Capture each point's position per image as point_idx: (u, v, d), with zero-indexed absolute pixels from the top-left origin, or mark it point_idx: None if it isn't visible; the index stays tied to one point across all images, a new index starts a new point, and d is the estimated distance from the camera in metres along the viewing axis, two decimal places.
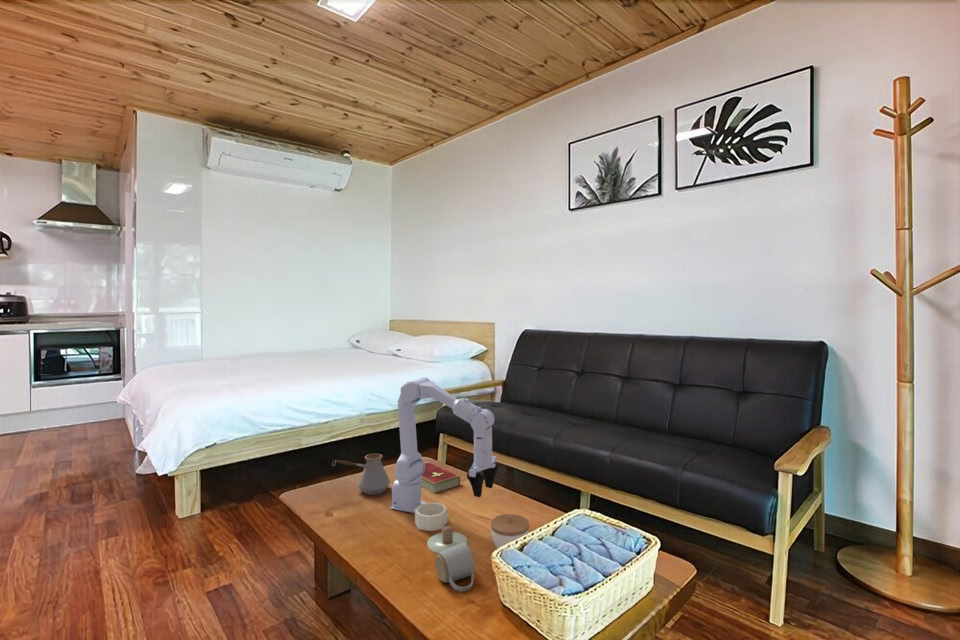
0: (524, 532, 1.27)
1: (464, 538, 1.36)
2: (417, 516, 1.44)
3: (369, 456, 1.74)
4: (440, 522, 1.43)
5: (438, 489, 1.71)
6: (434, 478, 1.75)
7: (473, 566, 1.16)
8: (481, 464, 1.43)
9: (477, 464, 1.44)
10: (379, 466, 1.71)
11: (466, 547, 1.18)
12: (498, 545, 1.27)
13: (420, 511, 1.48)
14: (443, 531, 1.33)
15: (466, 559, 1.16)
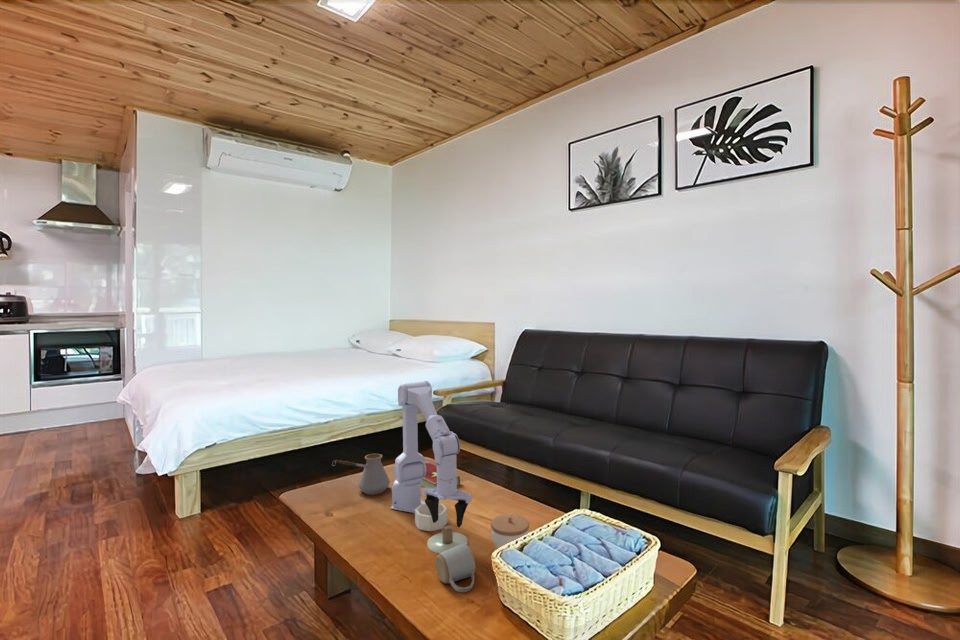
0: (524, 532, 1.27)
1: (464, 538, 1.36)
2: (417, 516, 1.44)
3: (369, 456, 1.74)
4: (440, 522, 1.43)
5: None
6: (434, 478, 1.75)
7: (474, 567, 1.16)
8: (437, 490, 1.34)
9: None
10: (379, 466, 1.71)
11: (467, 548, 1.18)
12: (498, 545, 1.27)
13: (420, 511, 1.48)
14: (443, 531, 1.33)
15: (467, 560, 1.16)
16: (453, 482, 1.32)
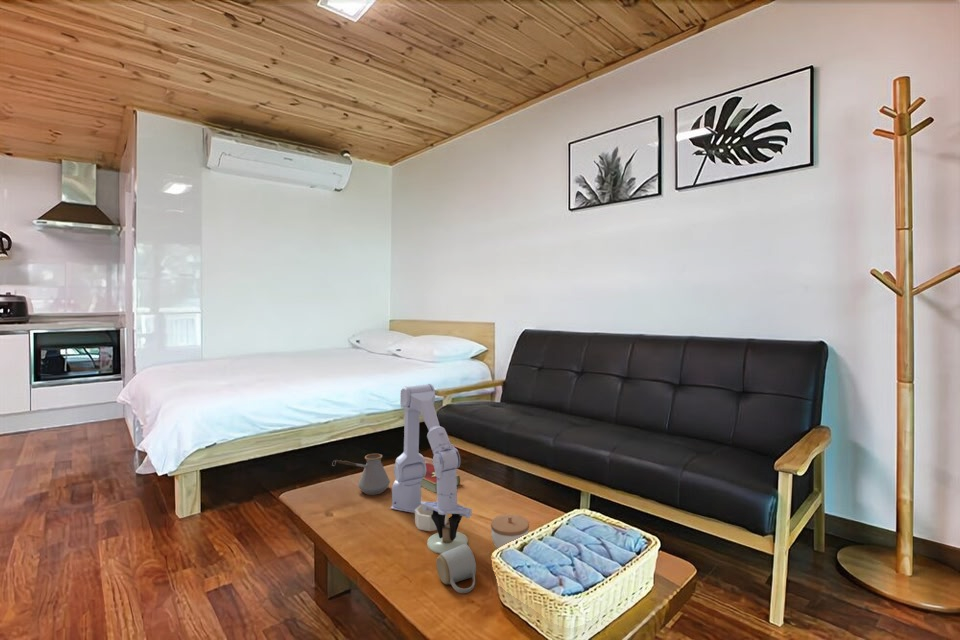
0: (524, 532, 1.27)
1: (464, 537, 1.36)
2: (417, 516, 1.44)
3: (369, 456, 1.74)
4: None
5: None
6: (435, 478, 1.75)
7: (474, 567, 1.16)
8: (437, 504, 1.34)
9: None
10: (379, 466, 1.71)
11: (467, 548, 1.18)
12: (498, 545, 1.27)
13: (420, 511, 1.48)
14: (443, 530, 1.33)
15: (468, 560, 1.15)
16: (453, 497, 1.32)
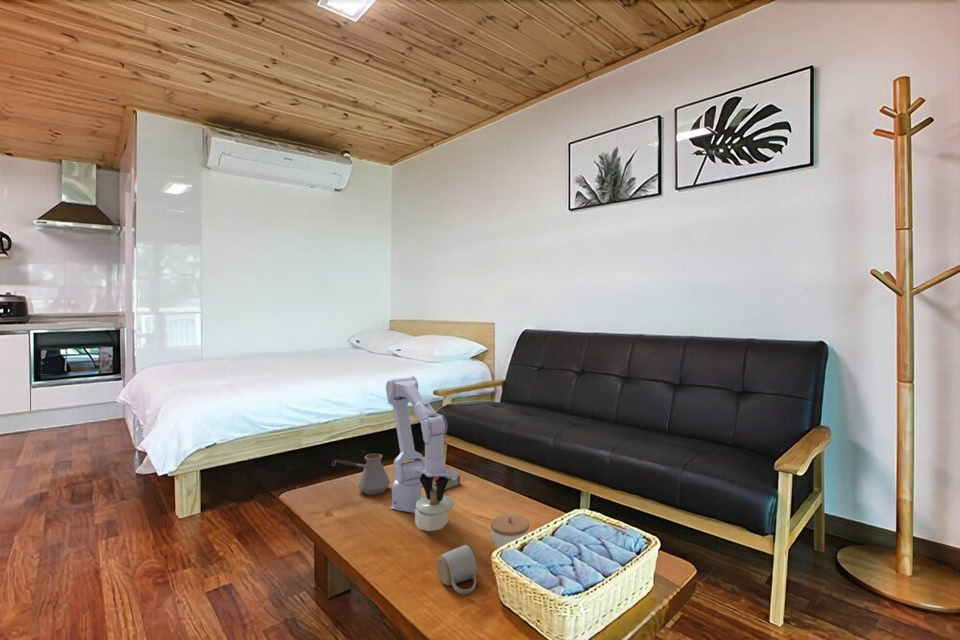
0: (524, 532, 1.27)
1: (450, 500, 1.45)
2: (417, 516, 1.44)
3: (369, 456, 1.74)
4: (440, 522, 1.43)
5: None
6: (435, 478, 1.75)
7: (475, 568, 1.15)
8: (425, 468, 1.43)
9: None
10: (379, 466, 1.71)
11: (468, 549, 1.17)
12: (498, 545, 1.27)
13: None
14: (431, 493, 1.42)
15: (469, 561, 1.15)
16: (440, 461, 1.41)
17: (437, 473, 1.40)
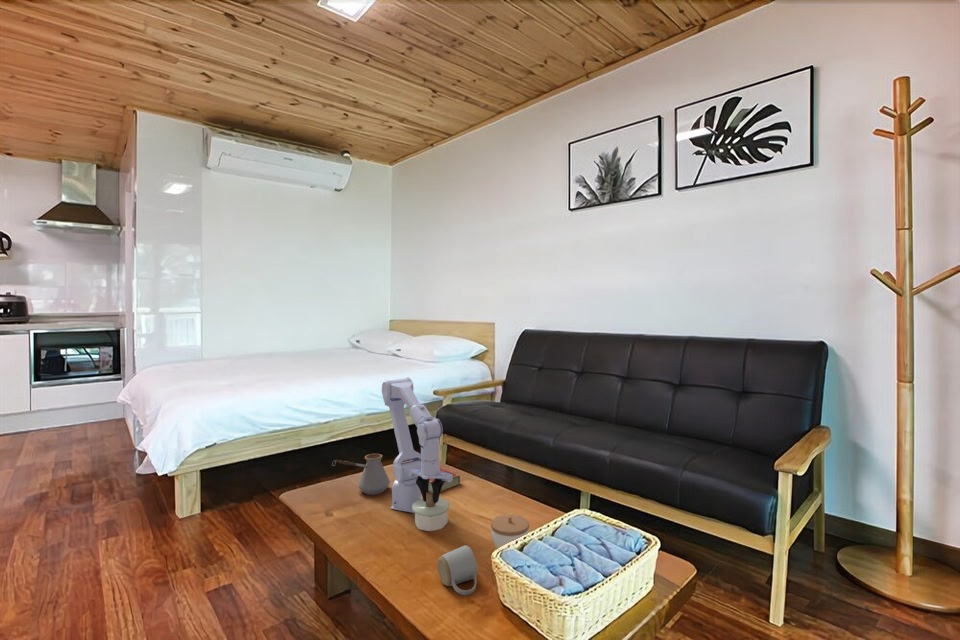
0: (524, 532, 1.27)
1: (446, 501, 1.48)
2: (417, 516, 1.44)
3: (369, 456, 1.74)
4: (440, 522, 1.43)
5: None
6: None
7: (476, 569, 1.15)
8: (421, 470, 1.46)
9: None
10: (379, 466, 1.71)
11: (469, 550, 1.17)
12: (498, 545, 1.27)
13: None
14: (427, 495, 1.45)
15: (469, 562, 1.15)
16: (436, 463, 1.44)
17: (433, 475, 1.43)
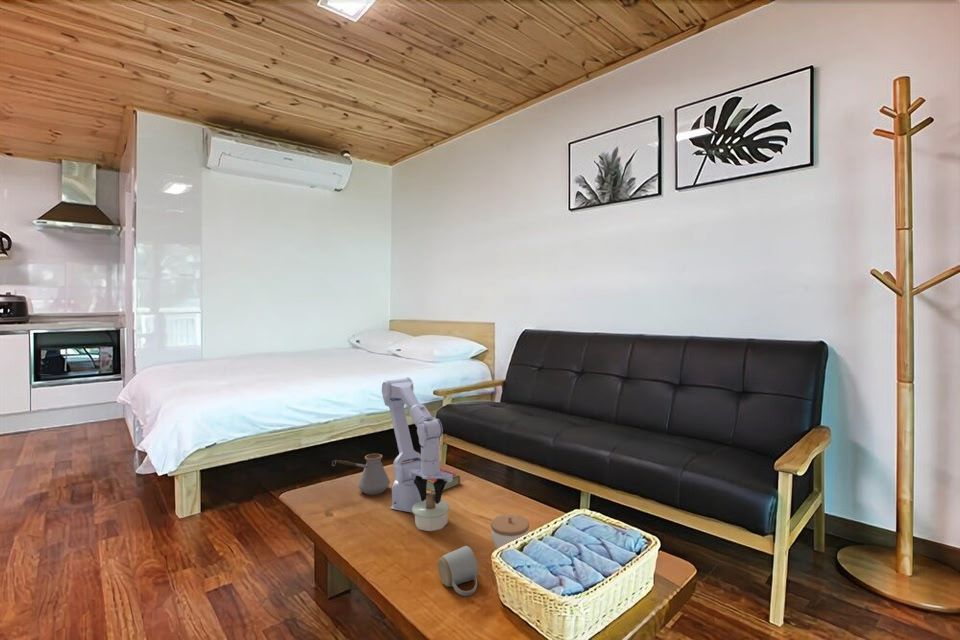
0: (524, 532, 1.27)
1: (446, 503, 1.48)
2: (417, 516, 1.44)
3: (369, 456, 1.74)
4: (440, 522, 1.43)
5: None
6: None
7: (476, 570, 1.15)
8: (421, 470, 1.46)
9: None
10: (379, 466, 1.71)
11: (469, 550, 1.17)
12: (498, 545, 1.27)
13: None
14: (427, 497, 1.45)
15: (470, 563, 1.14)
16: (436, 463, 1.44)
17: (433, 475, 1.43)
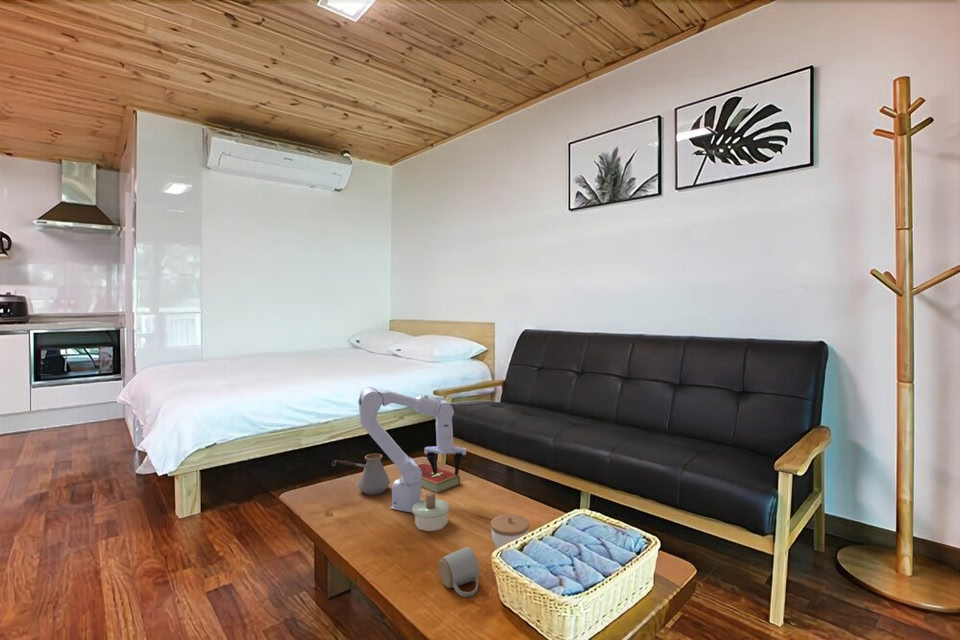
0: (524, 532, 1.27)
1: (446, 503, 1.48)
2: (417, 516, 1.44)
3: (369, 456, 1.74)
4: (440, 522, 1.43)
5: (440, 489, 1.71)
6: (435, 478, 1.75)
7: (477, 571, 1.14)
8: (436, 447, 1.61)
9: None
10: (380, 466, 1.71)
11: (470, 551, 1.16)
12: (498, 545, 1.27)
13: None
14: (427, 497, 1.45)
15: (471, 564, 1.14)
16: (451, 439, 1.60)
17: (449, 450, 1.59)
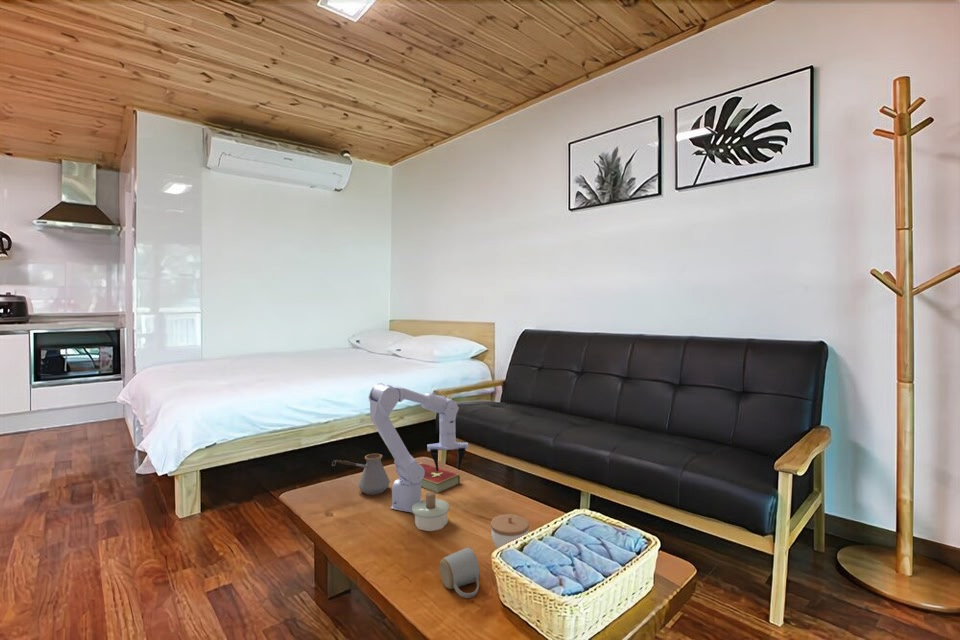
0: (524, 532, 1.27)
1: (446, 503, 1.48)
2: (417, 516, 1.44)
3: (369, 456, 1.74)
4: (440, 522, 1.43)
5: (441, 489, 1.71)
6: (435, 478, 1.75)
7: (478, 572, 1.14)
8: (440, 443, 1.66)
9: (439, 443, 1.67)
10: (379, 466, 1.71)
11: (471, 552, 1.16)
12: (498, 545, 1.27)
13: None
14: (427, 497, 1.45)
15: (471, 564, 1.13)
16: (455, 435, 1.66)
17: (454, 445, 1.65)
